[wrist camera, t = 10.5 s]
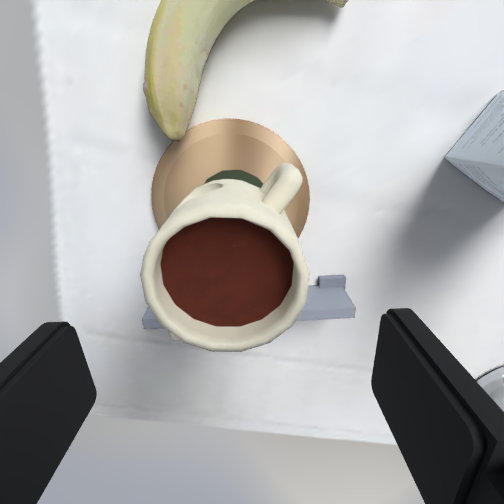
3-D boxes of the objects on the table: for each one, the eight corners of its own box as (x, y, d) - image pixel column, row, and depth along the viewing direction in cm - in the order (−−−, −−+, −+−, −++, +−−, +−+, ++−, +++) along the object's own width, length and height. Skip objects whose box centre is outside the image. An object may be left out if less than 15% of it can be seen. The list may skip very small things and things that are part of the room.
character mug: (236, 120, 21) (226, 114, 9) (310, 177, 23) (380, 232, 11) (164, 234, 25) (90, 336, 13) (233, 276, 27) (225, 399, 15)
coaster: (311, 114, 22) (313, 114, 21) (305, 267, 27) (307, 270, 27) (139, 122, 22) (136, 122, 21) (167, 274, 27) (165, 278, 26)
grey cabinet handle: (343, 274, 28) (359, 297, 24) (341, 301, 29) (355, 327, 25) (150, 285, 27) (137, 309, 24) (156, 311, 29) (144, 338, 25)
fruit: (109, 56, 20) (84, 40, 17) (292, -122, 17) (302, -181, 14) (179, 146, 22) (168, 146, 19) (352, 1, 19) (373, -27, 16)
